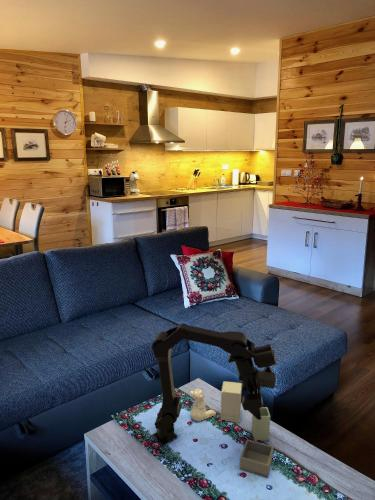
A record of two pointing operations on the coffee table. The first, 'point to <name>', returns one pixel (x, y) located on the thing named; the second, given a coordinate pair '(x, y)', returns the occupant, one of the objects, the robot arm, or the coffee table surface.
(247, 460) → the box
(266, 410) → the beige open box
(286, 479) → the coffee table surface
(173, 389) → the robot arm
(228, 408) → the supplement box
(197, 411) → the seated beast figurine
